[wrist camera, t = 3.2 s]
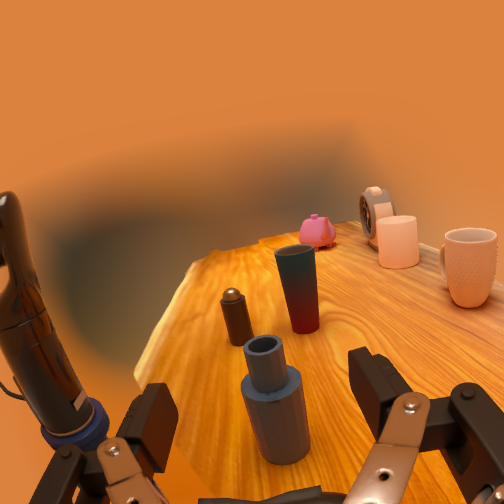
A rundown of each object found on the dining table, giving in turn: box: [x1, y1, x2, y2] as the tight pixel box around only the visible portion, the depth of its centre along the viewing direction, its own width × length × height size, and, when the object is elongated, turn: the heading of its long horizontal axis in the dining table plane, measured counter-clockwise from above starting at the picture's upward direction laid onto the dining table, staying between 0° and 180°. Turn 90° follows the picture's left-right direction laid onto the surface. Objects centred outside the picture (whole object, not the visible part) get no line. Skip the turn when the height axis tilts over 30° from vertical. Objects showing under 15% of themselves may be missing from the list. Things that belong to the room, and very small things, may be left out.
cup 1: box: [274, 244, 319, 334], centre depth 51 cm, size 7×7×15 cm
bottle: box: [241, 335, 310, 465], centre depth 25 cm, size 5×5×14 cm
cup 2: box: [376, 216, 419, 269], centre depth 73 cm, size 12×12×12 cm
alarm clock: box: [359, 187, 396, 252], centre depth 90 cm, size 18×8×20 cm, turn 174°
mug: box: [439, 228, 497, 308], centre depth 44 cm, size 15×11×13 cm
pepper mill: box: [220, 288, 254, 346], centre depth 52 cm, size 4×4×10 cm
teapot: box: [299, 214, 336, 251], centre depth 107 cm, size 20×14×12 cm
